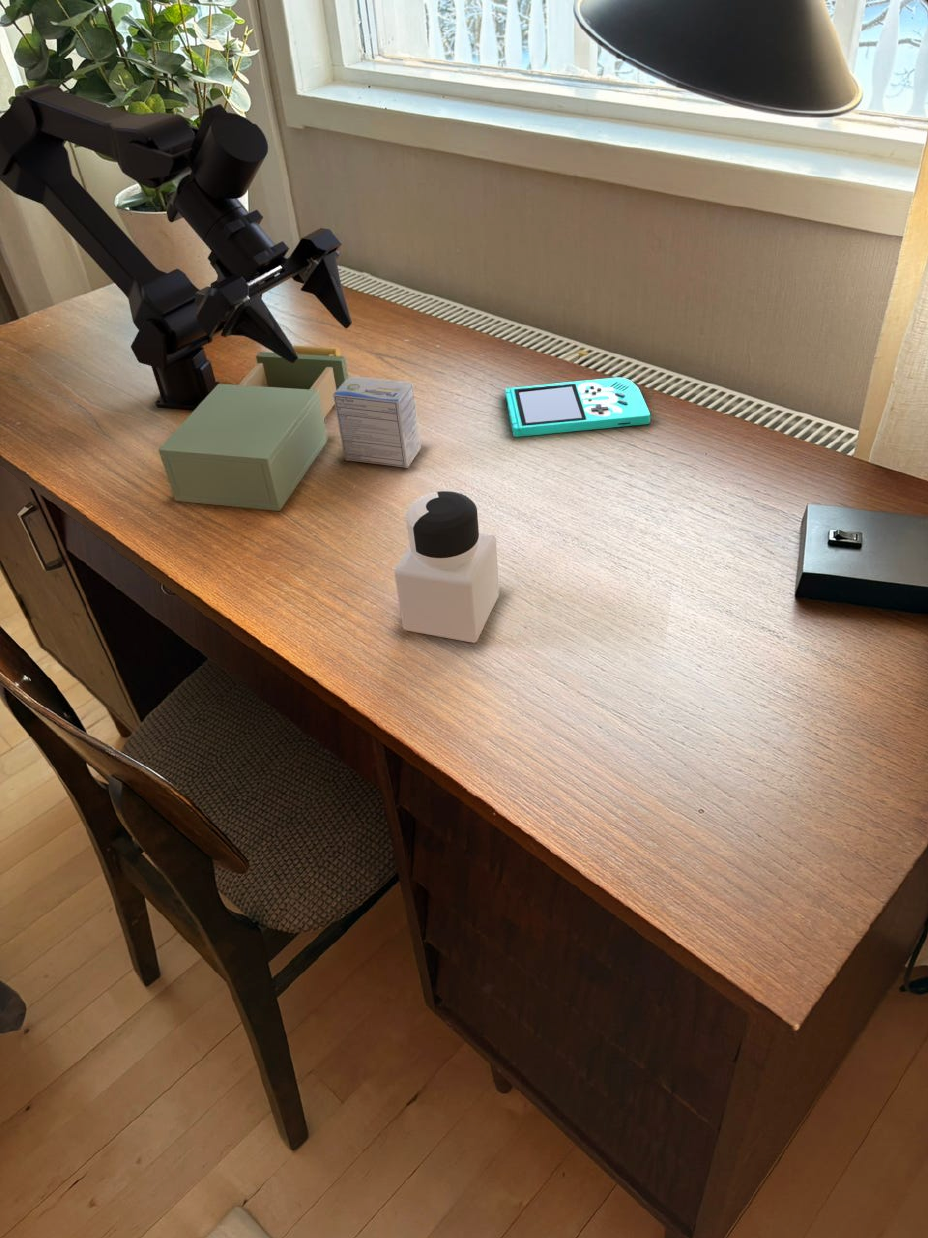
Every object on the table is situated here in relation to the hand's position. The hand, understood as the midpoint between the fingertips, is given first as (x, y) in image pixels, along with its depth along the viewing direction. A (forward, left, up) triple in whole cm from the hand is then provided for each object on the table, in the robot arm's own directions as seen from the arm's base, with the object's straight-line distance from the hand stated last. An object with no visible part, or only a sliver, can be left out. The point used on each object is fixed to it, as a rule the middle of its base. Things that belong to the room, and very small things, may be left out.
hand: (323, 342), depth 103 cm
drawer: (-8, +6, -12) cm, 15 cm away
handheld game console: (+26, +11, -13) cm, 31 cm away
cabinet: (-8, -7, -13) cm, 16 cm away
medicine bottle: (+21, -27, -13) cm, 36 cm away
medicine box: (+6, -2, -13) cm, 14 cm away
